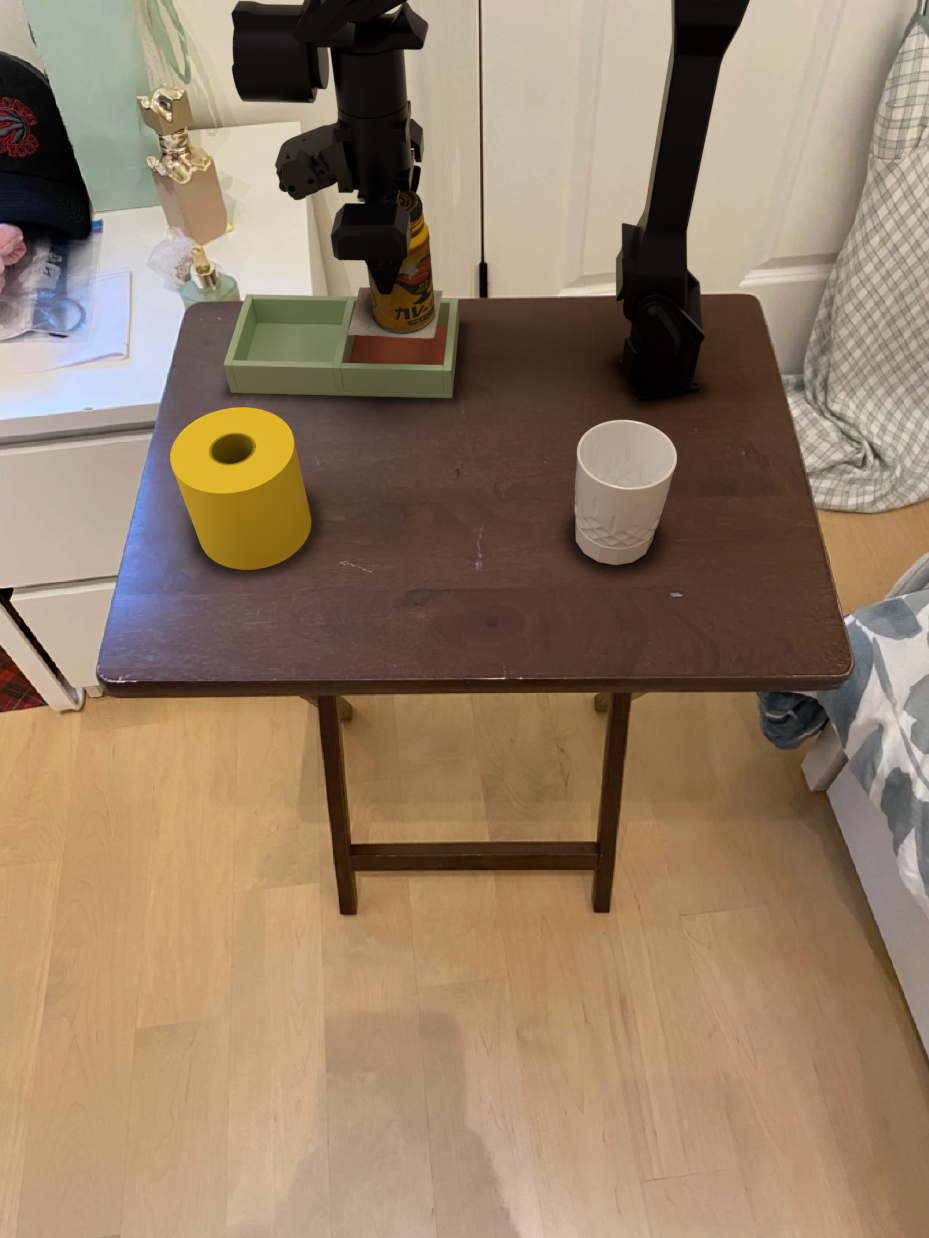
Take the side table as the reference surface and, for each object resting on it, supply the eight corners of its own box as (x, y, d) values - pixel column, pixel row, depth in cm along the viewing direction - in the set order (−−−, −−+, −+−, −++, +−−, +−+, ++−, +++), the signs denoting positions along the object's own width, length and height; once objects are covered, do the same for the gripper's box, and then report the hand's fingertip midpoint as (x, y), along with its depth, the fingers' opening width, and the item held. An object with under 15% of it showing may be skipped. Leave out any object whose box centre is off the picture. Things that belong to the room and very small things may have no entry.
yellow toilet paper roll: (209, 486, 87) (182, 408, 79) (316, 485, 86) (300, 406, 79) (189, 570, 81) (159, 494, 73) (305, 569, 81) (286, 493, 73)
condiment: (434, 339, 90) (425, 224, 80) (347, 336, 90) (327, 222, 81) (442, 292, 94) (435, 177, 84) (359, 290, 94) (342, 176, 85)
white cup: (581, 578, 80) (592, 496, 71) (558, 511, 84) (565, 427, 76) (670, 563, 80) (691, 480, 72) (642, 497, 85) (658, 413, 77)
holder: (458, 326, 100) (458, 298, 97) (452, 398, 93) (451, 370, 90) (252, 322, 101) (245, 294, 98) (230, 393, 94) (223, 365, 92)
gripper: (291, 50, 81) (318, 218, 94) (252, 161, 70) (288, 334, 83) (419, 50, 81) (428, 219, 93) (399, 161, 70) (413, 336, 82)
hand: (388, 273), depth 88 cm, fingers closed on condiment, 6 cm apart
